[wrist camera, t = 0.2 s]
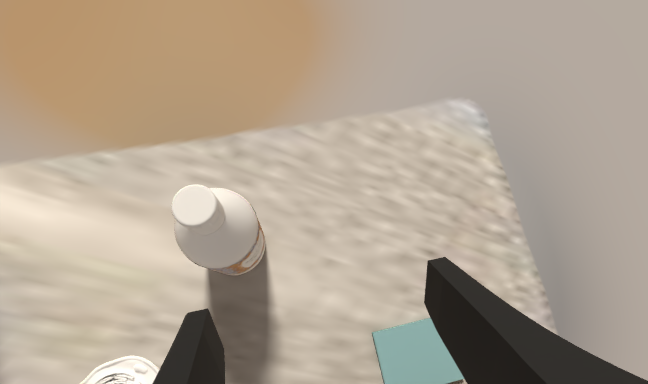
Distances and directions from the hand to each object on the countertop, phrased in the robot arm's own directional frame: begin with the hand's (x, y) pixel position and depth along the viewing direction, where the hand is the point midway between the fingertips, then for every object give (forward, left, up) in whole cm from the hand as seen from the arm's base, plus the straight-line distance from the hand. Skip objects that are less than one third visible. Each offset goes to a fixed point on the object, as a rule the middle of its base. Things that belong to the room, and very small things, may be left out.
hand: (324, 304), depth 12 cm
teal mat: (-9, -12, -31) cm, 35 cm away
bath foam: (+7, +6, -31) cm, 33 cm away
